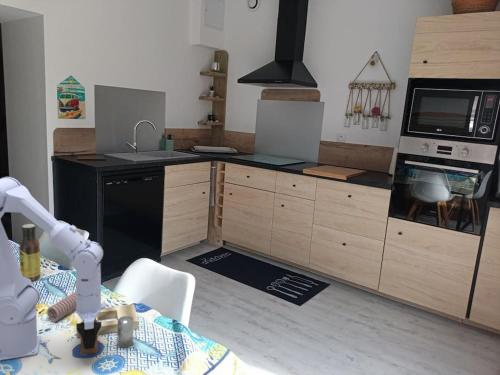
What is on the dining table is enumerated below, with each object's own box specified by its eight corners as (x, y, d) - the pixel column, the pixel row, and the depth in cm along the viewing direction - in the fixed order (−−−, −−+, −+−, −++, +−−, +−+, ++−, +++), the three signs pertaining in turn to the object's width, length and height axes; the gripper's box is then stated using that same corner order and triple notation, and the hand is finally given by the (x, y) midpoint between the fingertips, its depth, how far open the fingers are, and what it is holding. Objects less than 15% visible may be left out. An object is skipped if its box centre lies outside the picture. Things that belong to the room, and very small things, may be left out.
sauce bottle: (21, 275, 136) (19, 222, 132) (41, 273, 139) (39, 221, 135) (19, 283, 130) (16, 228, 126) (40, 281, 133) (38, 227, 129)
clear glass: (117, 349, 100) (118, 325, 98) (116, 340, 103) (117, 317, 102) (133, 346, 101) (134, 322, 100) (132, 338, 105) (132, 315, 104)
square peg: (80, 355, 96) (80, 330, 95) (80, 346, 100) (80, 322, 98) (97, 352, 98) (97, 328, 96) (97, 343, 101) (97, 319, 100)
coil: (57, 310, 108) (99, 285, 125) (44, 305, 109) (88, 280, 126) (56, 325, 109) (98, 297, 126) (44, 320, 110) (86, 293, 127)
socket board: (77, 338, 103) (77, 329, 102) (78, 318, 112) (77, 311, 111) (137, 328, 109) (137, 321, 109) (134, 311, 118) (134, 304, 118)
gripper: (106, 302, 91) (107, 353, 93) (104, 277, 104) (104, 322, 106) (74, 306, 88) (75, 358, 90) (76, 280, 101) (77, 326, 104)
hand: (89, 339), depth 98 cm, fingers open, 7 cm apart
